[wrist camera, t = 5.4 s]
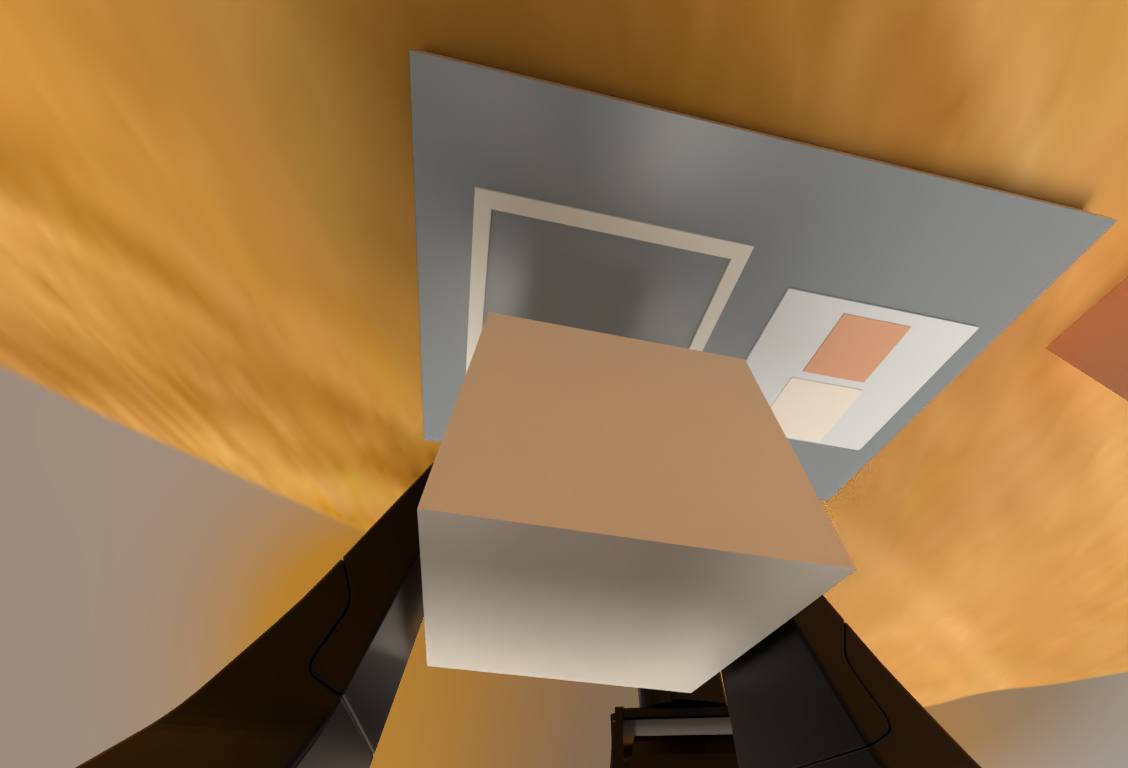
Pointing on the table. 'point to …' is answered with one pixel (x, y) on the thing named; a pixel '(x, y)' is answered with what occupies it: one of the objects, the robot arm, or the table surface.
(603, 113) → the building plate
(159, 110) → the table surface
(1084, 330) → the terracotta block
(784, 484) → the cream block
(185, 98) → the table surface
